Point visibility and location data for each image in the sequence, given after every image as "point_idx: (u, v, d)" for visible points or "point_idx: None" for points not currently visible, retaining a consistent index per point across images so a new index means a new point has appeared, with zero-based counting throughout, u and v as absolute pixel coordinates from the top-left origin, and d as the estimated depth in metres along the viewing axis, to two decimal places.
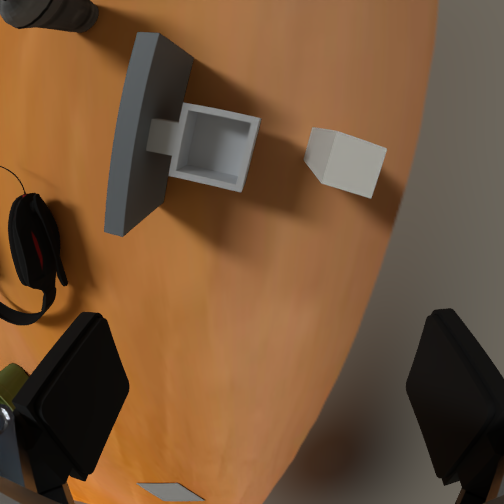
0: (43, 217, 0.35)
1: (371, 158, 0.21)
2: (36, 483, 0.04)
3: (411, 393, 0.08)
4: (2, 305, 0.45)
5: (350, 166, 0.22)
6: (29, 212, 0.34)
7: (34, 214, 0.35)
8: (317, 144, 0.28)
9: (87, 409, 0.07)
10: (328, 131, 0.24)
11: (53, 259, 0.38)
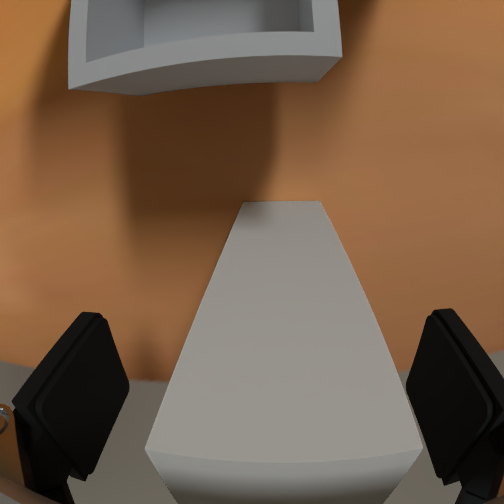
0: None
1: None
2: (36, 483, 0.04)
3: (411, 393, 0.08)
4: None
5: (271, 503, 0.04)
6: None
7: None
8: (297, 256, 0.10)
9: (87, 409, 0.07)
10: (370, 324, 0.06)
11: None
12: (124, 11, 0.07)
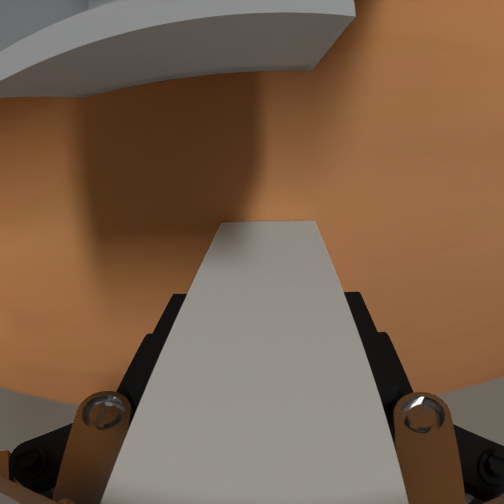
0: None
1: None
2: None
3: None
4: None
5: None
6: None
7: None
8: (283, 316, 0.07)
9: None
10: (385, 451, 0.04)
11: None
12: None
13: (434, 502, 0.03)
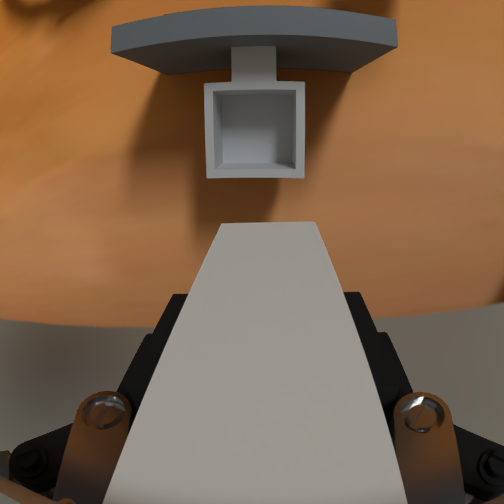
0: None
1: None
2: None
3: None
4: None
5: None
6: None
7: None
8: (283, 318, 0.07)
9: None
10: (384, 452, 0.04)
11: None
12: (219, 136, 0.23)
13: (434, 502, 0.03)
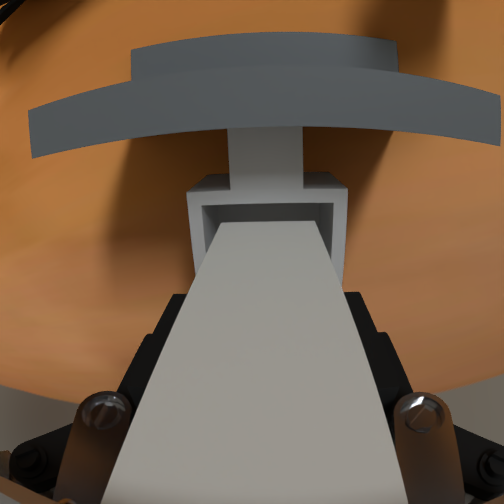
0: None
1: None
2: None
3: None
4: None
5: None
6: None
7: None
8: (283, 317, 0.07)
9: None
10: (384, 451, 0.04)
11: None
12: None
13: (434, 502, 0.03)
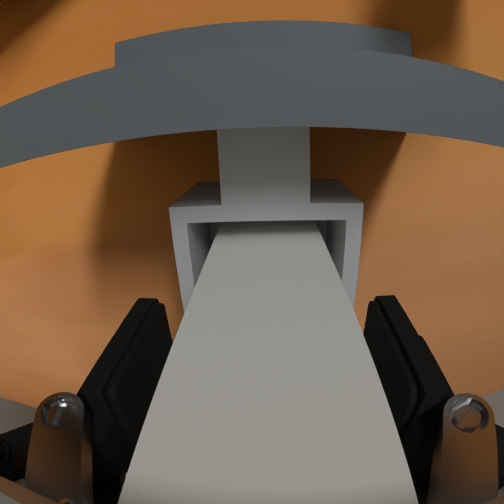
0: None
1: None
2: (92, 476, 0.05)
3: None
4: None
5: None
6: None
7: None
8: (284, 288, 0.08)
9: (149, 393, 0.07)
10: (373, 386, 0.05)
11: None
12: None
13: (470, 499, 0.03)
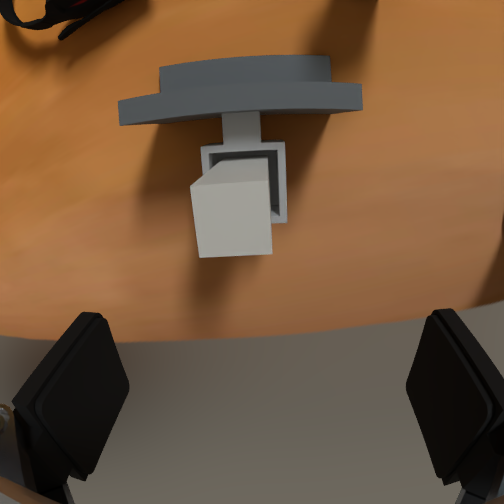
0: None
1: (250, 238, 0.17)
2: (36, 483, 0.04)
3: (411, 393, 0.08)
4: None
5: (227, 214, 0.17)
6: None
7: None
8: (245, 165, 0.22)
9: (87, 409, 0.07)
10: (265, 171, 0.19)
11: (84, 13, 0.24)
12: None
13: None
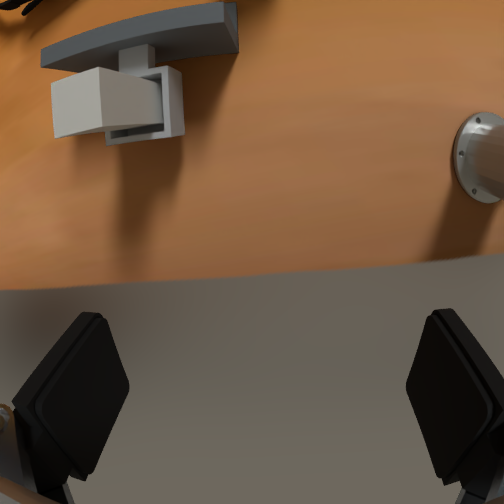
0: None
1: (86, 115, 0.17)
2: (36, 483, 0.04)
3: (411, 393, 0.08)
4: None
5: (72, 99, 0.16)
6: None
7: None
8: None
9: (87, 409, 0.07)
10: (118, 73, 0.18)
11: None
12: None
13: None
